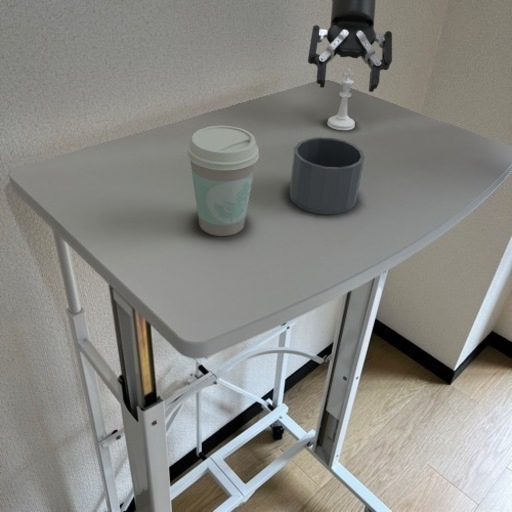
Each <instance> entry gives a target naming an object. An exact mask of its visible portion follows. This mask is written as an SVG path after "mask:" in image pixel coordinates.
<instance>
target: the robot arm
mask: <svg viewBox="0 0 512 512" xmlns="http://www.w3.org/2000/svg"><path fill="white" fill-rule="evenodd" d="M331 2H332V3H331V13H330V14H331V15H330V26H329V28H328V29H322V28H320V25H318V24H315V25H313V27H312V31H311V38H310V42H309V43H310V44H309V50H308V55H307V63H308V64H309V65H315V66H316V68H317V69H316V70H317V71H316V84H317V85H319V88H323V89H324V88H325V84H326V74H327V65H328V63H329V62H331V61H332V60H333V59H334V58H335V57H337V55H338V56H339V57H340V58H347V57H349V58H352V59H359V58H361V59H362V61H363V62H364V64H366V65H367V66H368V67H369V69H370V72H369V85H368V92H369V93H370V92H371V93H373V92H374V91H375V90H377V88H378V87H379V84H380V76H381V75H380V74H381V71H388V70H389V68H390V66H391V64H392V62H393V33H392V32H391V31H390V30H387V31H385V32H384V33H376V31H375V15H376V2H377V1H376V0H331ZM324 39H326V40H327V41H328V43H329V45H328V46H327V47H326V49H325V50H324V51H323V52H322V53H321V54H319V53H317V50H318V44H320V43H322V42H323V40H324ZM375 42H376V43H377V44H378V47H379V48H380V49H381V59H380V57H379V56H378V54H377V53H376V50H375V48H374V47H373V45H374V43H375Z"/></svg>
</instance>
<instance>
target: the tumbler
mask: <svg viewBox="0 0 512 512" xmlns="http://www.w3.org/2000/svg"><path fill="white" fill-rule="evenodd" d="M364 162H365V154H364V152H363V150H362V149H360V148H359V146H357V145H356V144H353V143H351V142H348V141H346V140H344V139H339V138H334V137H321V136H320V137H319V136H318V137H312V138H306V139H304V140H301V141H298V142H297V144H295V146H294V148H293V153H292V164H291V175H290V181H289V182H290V183H289V198H290V201H291V202H292V203H293V204H294V205H295V206H297V207H298V208H300V209H302V210H304V211H306V212H310V213H312V214H317V215H327V216H328V215H329V216H331V215H332V216H333V215H340V214H343V213H346V212H349V211H351V210H352V209H353V208H354V206H355V204H356V202H357V198H358V194H359V189H360V184H361V180H362V179H361V178H362V173H363V168H364Z"/></svg>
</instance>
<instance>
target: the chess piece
mask: <svg viewBox="0 0 512 512" xmlns="http://www.w3.org/2000/svg"><path fill="white" fill-rule="evenodd" d="M354 75H355V73H354V72H352V69H351V68H347V71H346V72H343V75H342V76H343V77H345V78H343V79H342V80H341V87H342V91H340V92H339V96H340V97H341V101H340V104H339V109H338V112H337V113H336V114H335V115H333V116H331V117H329V118H328V120H327V122H326V123H327V126H328V127H329V128H331V129H332V130H333V129H334V130H337V131H350V130H353V129H354V128H355V126H356V125H355V120H354V119H352V118H351V117H349V115H348V103H349V102H348V101H349V98H351V97H352V93H351V92H350V90H351V88H352V86H353V85H354V80H352V79H351V77H354Z"/></svg>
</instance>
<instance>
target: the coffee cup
mask: <svg viewBox="0 0 512 512" xmlns="http://www.w3.org/2000/svg"><path fill="white" fill-rule="evenodd" d="M186 155H187V158H188V159H189V160H190V169H191V175H192V183H193V189H194V196H195V201H196V202H195V203H196V210H197V216H198V217H197V218H198V223H199V227H200V229H201V230H202V231H203V232H204V233H207V234H209V235H212V236H216V237H228V236H232V235H235V234H238V233H239V232H241V231H242V230H243V229H244V228H245V221H246V217H247V212H248V206H249V200H250V194H251V188H252V183H253V178H254V172H255V166H256V162H257V161H258V159H259V158H260V153H259V147H258V145H257V142H256V138H255V136H254V135H253V133H251V132H249V131H248V130H246V129H244V128H240V127H237V126H232V125H212V126H206V127H203V128H200V129H198V130H197V131H195V132H194V133H193V134H192V135H191V139H190V142H189V144H188V145H187V151H186Z"/></svg>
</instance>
